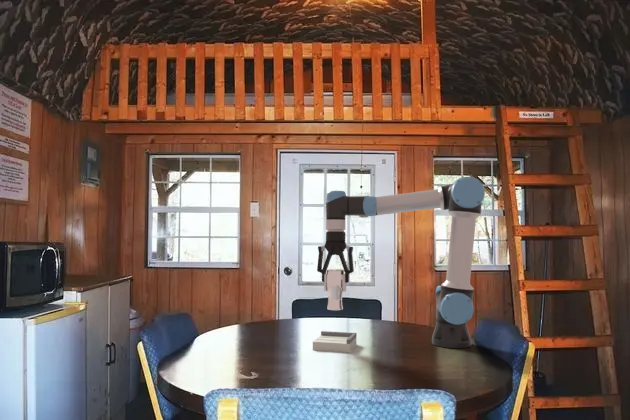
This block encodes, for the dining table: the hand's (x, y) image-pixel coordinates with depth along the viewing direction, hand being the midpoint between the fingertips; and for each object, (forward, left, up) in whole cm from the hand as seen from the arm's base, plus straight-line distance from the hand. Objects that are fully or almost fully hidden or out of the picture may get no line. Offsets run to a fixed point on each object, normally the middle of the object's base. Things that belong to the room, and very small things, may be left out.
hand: (335, 290), depth 198 cm
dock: (0, 0, -21) cm, 21 cm away
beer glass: (0, 0, -7) cm, 7 cm away
